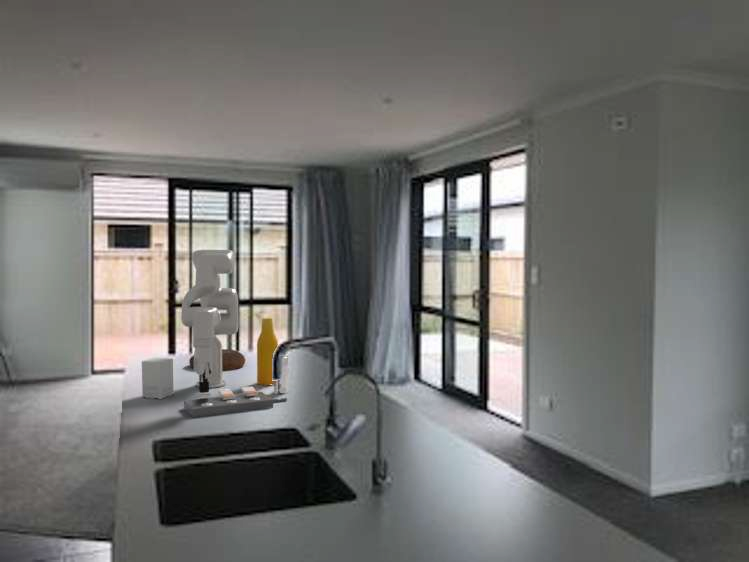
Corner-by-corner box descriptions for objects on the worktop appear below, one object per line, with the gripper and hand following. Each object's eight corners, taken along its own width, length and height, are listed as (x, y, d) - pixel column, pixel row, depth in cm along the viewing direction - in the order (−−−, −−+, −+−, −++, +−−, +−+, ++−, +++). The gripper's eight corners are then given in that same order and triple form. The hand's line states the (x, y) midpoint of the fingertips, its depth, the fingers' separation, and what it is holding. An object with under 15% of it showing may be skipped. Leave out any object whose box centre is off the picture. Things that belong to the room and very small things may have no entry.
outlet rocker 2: (241, 390, 244) (241, 386, 244) (252, 388, 246) (252, 385, 246) (246, 396, 238) (246, 393, 238) (257, 395, 241) (258, 392, 240)
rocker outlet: (194, 398, 236) (194, 395, 236) (206, 397, 238) (206, 393, 238) (198, 398, 230) (198, 394, 230) (210, 396, 232) (210, 393, 232)
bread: (184, 364, 324) (184, 347, 323) (237, 360, 336) (237, 343, 336) (195, 374, 298) (195, 356, 298) (251, 369, 311) (251, 351, 310)
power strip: (184, 408, 235) (183, 398, 234) (280, 397, 253) (280, 387, 253) (192, 417, 222) (192, 406, 222) (293, 404, 241) (293, 395, 241)
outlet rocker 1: (218, 391, 240) (218, 388, 240) (229, 390, 242) (229, 387, 242) (223, 399, 234) (223, 396, 234) (234, 398, 236) (235, 395, 236)
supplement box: (174, 394, 257) (174, 358, 256) (161, 399, 248) (160, 362, 247) (155, 392, 259) (154, 357, 258) (141, 397, 250) (141, 360, 250)
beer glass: (285, 394, 257) (285, 358, 256) (269, 393, 258) (269, 357, 257) (291, 391, 264) (291, 355, 263) (275, 390, 265) (275, 355, 264)
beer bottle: (280, 384, 275) (280, 319, 274) (259, 386, 272) (259, 319, 270) (275, 380, 284) (275, 316, 282) (255, 382, 281) (254, 317, 279)
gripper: (188, 340, 235) (189, 389, 236) (198, 346, 222) (198, 397, 223) (208, 339, 239) (209, 387, 240) (219, 344, 226) (219, 395, 227)
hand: (204, 392), depth 231 cm, fingers closed
